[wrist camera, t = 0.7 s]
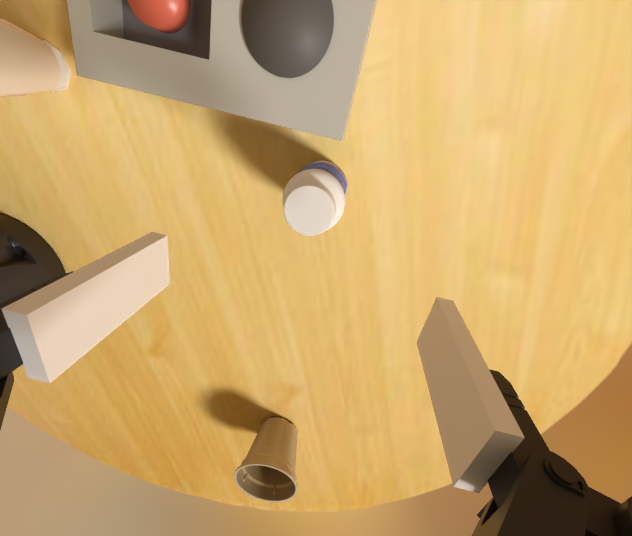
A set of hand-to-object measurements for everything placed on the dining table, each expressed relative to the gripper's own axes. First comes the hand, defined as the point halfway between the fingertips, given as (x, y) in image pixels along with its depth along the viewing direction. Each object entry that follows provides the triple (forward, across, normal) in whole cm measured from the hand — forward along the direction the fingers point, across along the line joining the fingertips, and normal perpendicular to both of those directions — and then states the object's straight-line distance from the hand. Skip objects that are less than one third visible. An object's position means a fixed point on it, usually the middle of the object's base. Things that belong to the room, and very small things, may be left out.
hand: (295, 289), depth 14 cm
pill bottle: (+20, -1, +1) cm, 20 cm away
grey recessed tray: (+19, -12, +14) cm, 26 cm away
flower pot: (+20, -1, -40) cm, 44 cm away
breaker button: (+17, -17, +14) cm, 28 cm away
